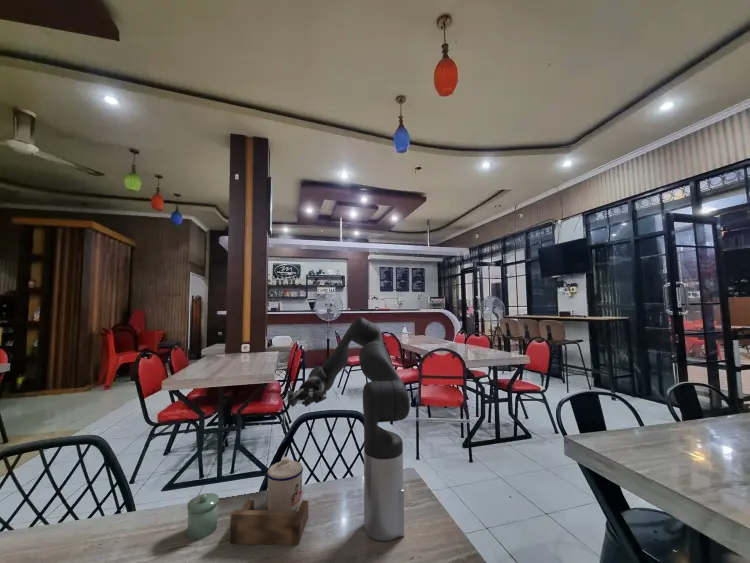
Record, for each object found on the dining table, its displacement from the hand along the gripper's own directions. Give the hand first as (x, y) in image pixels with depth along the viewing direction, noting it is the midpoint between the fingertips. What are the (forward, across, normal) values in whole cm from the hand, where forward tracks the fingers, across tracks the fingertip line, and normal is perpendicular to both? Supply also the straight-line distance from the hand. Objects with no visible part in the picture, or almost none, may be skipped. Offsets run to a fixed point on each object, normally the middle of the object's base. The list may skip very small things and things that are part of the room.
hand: (299, 403), depth 99 cm
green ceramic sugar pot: (+23, -16, +22) cm, 36 cm away
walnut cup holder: (+23, 0, +22) cm, 32 cm away
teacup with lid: (+12, 0, +22) cm, 25 cm away
